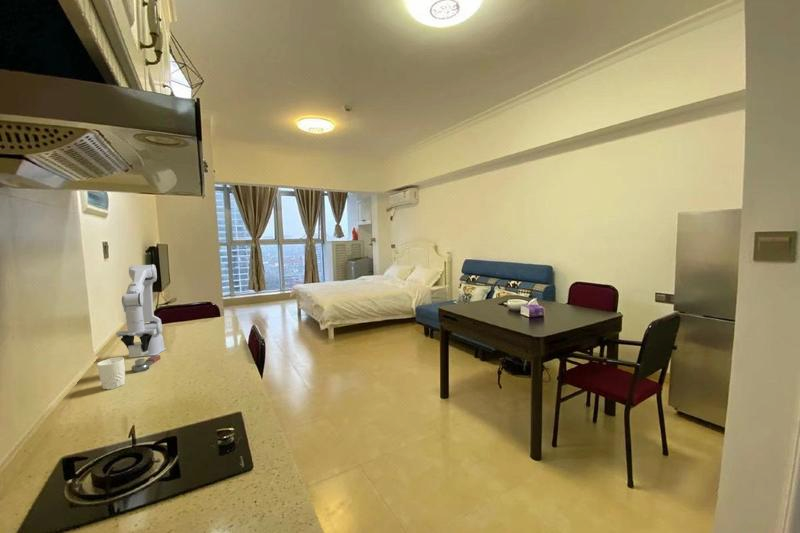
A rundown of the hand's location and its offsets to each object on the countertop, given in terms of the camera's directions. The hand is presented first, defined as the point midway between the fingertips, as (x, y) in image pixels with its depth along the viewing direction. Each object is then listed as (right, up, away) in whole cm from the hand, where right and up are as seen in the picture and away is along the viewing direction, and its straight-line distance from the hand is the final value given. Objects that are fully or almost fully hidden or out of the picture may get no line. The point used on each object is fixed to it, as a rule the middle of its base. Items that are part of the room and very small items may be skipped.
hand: (138, 351), depth 142 cm
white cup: (+2, -10, -14) cm, 17 cm away
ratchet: (-1, -8, +5) cm, 9 cm away
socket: (0, -1, 0) cm, 1 cm away
